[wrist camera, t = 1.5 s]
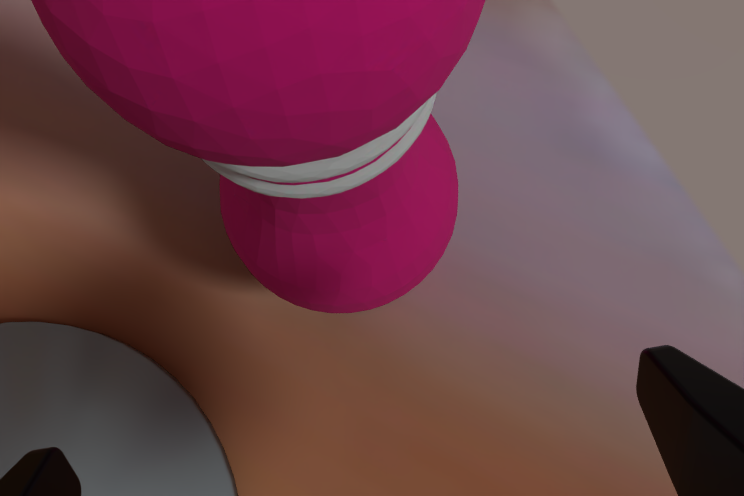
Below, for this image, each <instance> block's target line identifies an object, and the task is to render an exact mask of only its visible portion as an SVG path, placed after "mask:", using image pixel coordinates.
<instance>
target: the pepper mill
mask: <svg viewBox="0 0 744 496" xmlns="http://www.w3.org/2000/svg"><path fill="white" fill-rule="evenodd" d="M31 1H32V3H33V5H34V7H35V9H36V11H37V13H38V15H39V17H40V19H41V21H42V24H43V25H44V27H45V29H46V30H47V32H48V34H49V35H50V37H51V39H52V40H53V42H54V44H55V45H56V47H57V49H58V50H59V52H60V54H61V55H62V56H63V58H64V59H65V60H66V61H67V63H68V64H69V65H70V66H71V67H72V69H73V70H74V71H75V72H76V74H77V75H78V76H79V77H80V78H81V80H82V81H83V82H84V83H85V85H86V86H87V87H89V88H90V89H91V90H92V91H93V92H94V93H95V94H96V95H98V96H99V97H100V98H101V99H102V100H103V101H104V102H106V103H107V104H108V105H109V106H110V107H111V108H112V109H113V110H115V111H116V112H117V113H118V114H119V115H120V116H121V117H122V118H124V119H125V120H126V121H128V122H130V123H131V124H133V125H134V126H136V127H138V128H139V129H141V130H142V131H144V132H145V133H147V134H149V135H150V136H152V137H153V138H155V139H157V140H158V141H160V142H161V143H163V144H165V145H166V146H169V147H172V148H174V149H177V150H180V151H182V152H185V153H188V154H190V155H193V156H196V157H199V158H201V159H202V160H203V161H204V162H205V163H206V164H207V165H208V166H210V167H211V168H212V169H214V170H215V171H216V172H218V173H219V174H220V205H221V214H222V218H223V222H224V225H225V229H226V233H227V235H228V237H229V239H230V241H231V243H232V245H233V248H234V250H235V251H236V252H237V254H238V255H239V257H240V258H241V260H242V261H243V263H244V264H245V265H246V267H247V268H248V269H249V271H250V272H251V274H252V275H253V276H254V277H255V278H256V279H257V280H258V281H259V282H260V283H261V284H262V285H263V286H265V287H266V288H267V289H269V290H270V291H272V292H273V293H274V294H276V295H277V296H279V297H280V298H282V299H284V300H286V301H288V302H290V303H293V304H295V305H297V306H300V307H304V308H307V309H310V310H314V311H320V312H327V313H353V312H359V311H364V310H370V309H373V308H376V307H379V306H383V305H385V304H387V303H389V302H391V301H393V300H395V299H397V298H399V297H401V296H402V295H404V294H406V293H407V292H408V291H410V290H411V289H412V288H414V287H415V286H416V285H418V284H419V283H420V282H421V281H422V280H423V279H424V278H425V277H426V276H427V275H428V274H429V273H430V272H431V271H432V270H433V268H434V267H435V265H436V264H437V262H438V261H439V259H440V258H441V257H442V255H443V253H444V251H445V249H446V247H447V245H448V243H449V240H450V238H451V236H452V233H453V229H454V225H455V220H456V216H457V206H458V179H457V172H456V165H455V160H454V157H453V155H452V152H451V149H450V147H449V144H448V141H447V139H446V138H445V136H444V134H443V132H442V131H441V129H440V127H439V125H438V124H437V122H436V121H435V119H434V118H433V116H432V115H431V110H432V107H433V104H434V101H435V97H436V94H437V91H439V89H440V88H441V86H442V85H443V83H444V82H445V80H446V79H447V77H448V76H449V74H450V73H451V71H452V70H453V68H454V67H455V65H456V64H457V62H458V61H459V59H460V58H461V56H462V55H463V53H464V52H465V51H466V49H467V46H468V44H469V42H470V39H471V37H472V34H473V32H474V29H475V27H476V25H477V22H478V20H479V17H480V14H481V11H482V8H483V5H484V2H485V0H31Z"/></svg>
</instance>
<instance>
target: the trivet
mask: <svg viewBox="0 0 744 496" xmlns="http://www.w3.org/2000/svg"><path fill="white" fill-rule="evenodd" d="M49 447H57V448H59V449H60V450H61V451H62V452H63V453H64V455H65V457H66V458H67V460H68V462H69V463H70V465H71V466H72V468H73V470H74V471H75V473H76V475H77V476H78V478H79V480H80V483H81V496H238V493H237V488H236V484H235V479H234V476H233V473H232V470H231V467H230V464H229V462H228V459H227V456H226V453H225V450H224V448H223V446H222V444H221V442H220V440H219V438H218V436H217V434H216V432H215V430H214V428H213V426H212V424H211V422H210V421H209V419H208V418H207V417H206V415H205V414H204V412H203V411H202V409H201V408H200V406H199V405H198V404H197V402H196V401H195V399H194V398H193V397H192V396H191V395H190V393H189V392H188V391H187V390H186V389H185V388H184V387H183V386H182V385H181V384H180V383H179V382H178V380H177V379H176V378H175V377H174V376H172V375H171V374H170V373H169V372H168V371H166V370H165V369H164V368H163V367H161V366H160V365H159V364H158V363H157V362H155V361H154V360H153V359H151V358H150V357H148V356H146V355H145V354H143V353H141V352H140V351H138V350H136V349H135V348H133V347H132V346H130V345H128V344H125V343H123V342H121V341H118V340H116V339H114V338H111V337H109V336H107V335H104V334H101V333H97V332H93V331H89V330H86V329H82V328H78V327H73V326H68V325H60V324H52V323H44V322H7V323H1V324H0V479H1V478H2V477H3V476H4V475H5V474H6V473H7V472H8V471H9V470H10V469H11V468H12V467H13V466H14V465H15V464H16V463H17V462H18V461H19V460H20V459H21V458H22V457H23V456H24V455H25V454H27V453H28V452H30V451H32V450H37V449H43V448H49Z"/></svg>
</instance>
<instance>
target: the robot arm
mask: <svg viewBox="0 0 744 496" xmlns="http://www.w3.org/2000/svg"><path fill="white" fill-rule="evenodd" d="M636 391H637V397H638V400H639V403H640V406H641V408H642V411H643V413H644V415H645V418H646V420H647V423H648V425H649V428H650V430H651V432H652V435H653V437H654V440H655V442H656V445H657V447H658V449H659V452H660V454H661V457H662V459H663V461H664V464H665V466H666V469H667V471H668V474H669V476H670V478H671V481H672V483H673V485H674V487H675V490H676V492H677V494H678V496H744V389H743V388H742V387H740V386H738V385H737V384H735V383H733V382H731V381H730V380H728V379H726V378H725V377H723V376H721V375H720V374H718V373H716V372H715V371H713V370H711V369H710V368H708V367H706V366H705V365H703V364H701V363H700V362H698V361H696V360H695V359H693V358H691V357H690V356H688V355H686V354H685V353H683V352H681V351H680V350H678V349H676V348H675V347H672V346H669V345H664V346H658V347H652V348H646V349H644V350H643V351H642V352H641V355H640V360H639V368H638V376H637V385H636ZM0 496H81V483H80V480H79V478H78V476H77V475H76V473H75V471H74V470H73V468H72V466H71V465H70V463H69V462H68V460H67V458H66V457H65V455H64V453H63V452H62V451H61V450H60V449H59V448H57V447H49V448H43V449H37V450H32V451H30V452H28V453H27V454H25V455H24V456H23V457H22V458H21V459H20V460H19V461H18V462H17V463H16V464H15V465H14V466H13V467H12V468H11V469H10V470H9V471H8V472H7V473H6V474H5V475H4V476H3V477H2V478H1V479H0Z"/></svg>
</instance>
